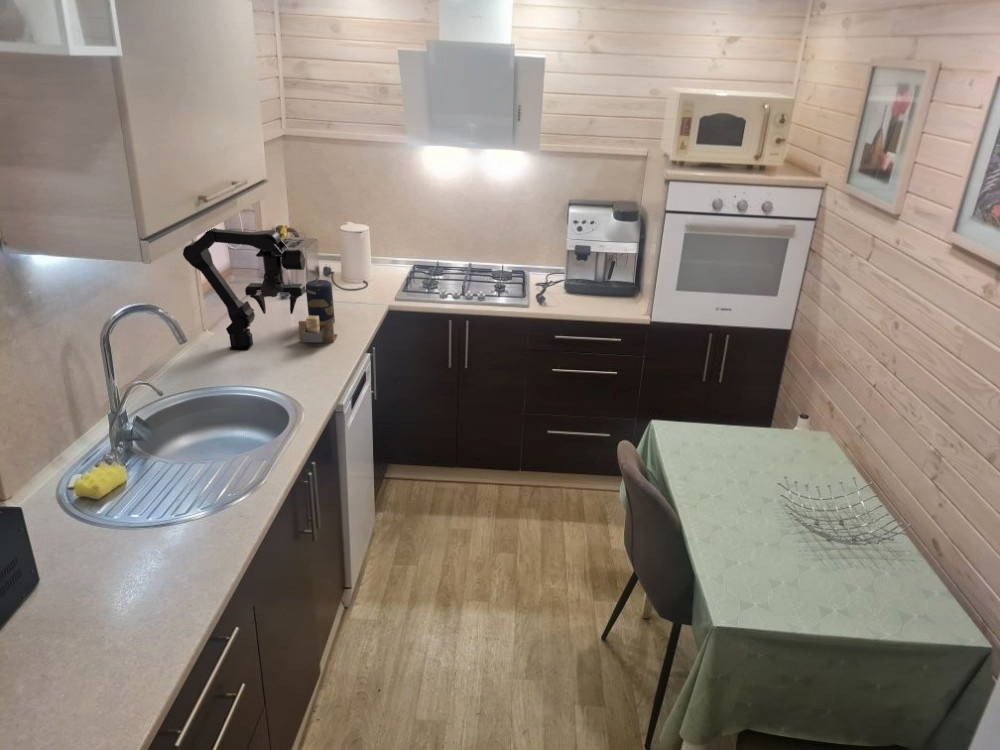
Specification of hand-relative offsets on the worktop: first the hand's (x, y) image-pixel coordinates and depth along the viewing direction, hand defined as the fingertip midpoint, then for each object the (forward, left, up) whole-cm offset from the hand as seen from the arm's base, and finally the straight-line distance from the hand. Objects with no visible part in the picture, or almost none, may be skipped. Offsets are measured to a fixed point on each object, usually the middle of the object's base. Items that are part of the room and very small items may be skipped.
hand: (278, 313), depth 240 cm
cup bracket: (+11, +6, -12) cm, 18 cm away
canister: (+9, +23, -13) cm, 28 cm away
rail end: (+11, +3, -9) cm, 14 cm away
